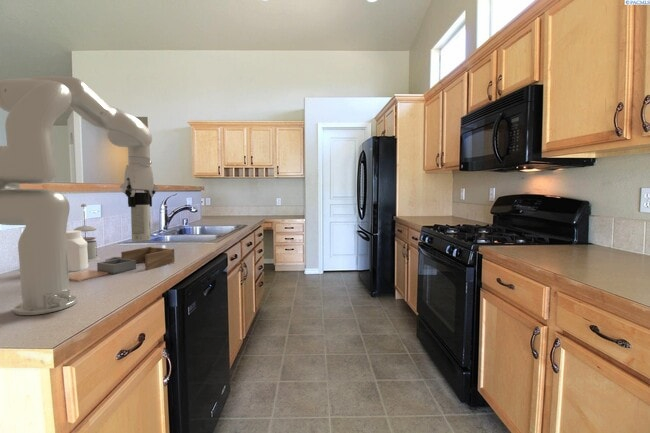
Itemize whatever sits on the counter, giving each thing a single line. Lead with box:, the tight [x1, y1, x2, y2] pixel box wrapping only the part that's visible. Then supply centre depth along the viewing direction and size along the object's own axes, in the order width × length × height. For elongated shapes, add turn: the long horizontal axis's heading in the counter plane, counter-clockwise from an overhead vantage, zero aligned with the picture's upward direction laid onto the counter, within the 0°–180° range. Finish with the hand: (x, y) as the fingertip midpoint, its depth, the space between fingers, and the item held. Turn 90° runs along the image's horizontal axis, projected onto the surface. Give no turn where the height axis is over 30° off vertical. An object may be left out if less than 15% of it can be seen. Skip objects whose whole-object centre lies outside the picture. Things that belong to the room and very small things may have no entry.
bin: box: [96, 258, 137, 275], centre depth 120 cm, size 9×9×4 cm
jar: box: [66, 229, 90, 273], centre depth 120 cm, size 12×10×15 cm
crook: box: [105, 256, 122, 261], centre depth 135 cm, size 14×6×1 cm, turn 91°
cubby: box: [120, 246, 175, 271], centre depth 130 cm, size 14×13×6 cm
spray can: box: [130, 191, 152, 243], centre depth 125 cm, size 7×7×20 cm
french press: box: [73, 203, 101, 263], centre depth 136 cm, size 10×12×25 cm
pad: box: [69, 269, 109, 282], centre depth 112 cm, size 10×10×1 cm
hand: (140, 206), depth 125 cm, fingers closed on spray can, 6 cm apart
